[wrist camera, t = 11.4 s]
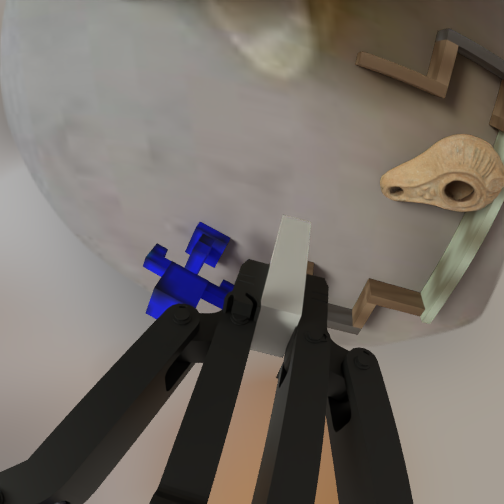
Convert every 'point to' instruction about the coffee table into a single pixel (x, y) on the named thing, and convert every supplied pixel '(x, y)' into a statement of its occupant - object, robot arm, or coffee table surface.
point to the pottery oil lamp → (449, 175)
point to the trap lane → (472, 222)
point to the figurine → (187, 273)
